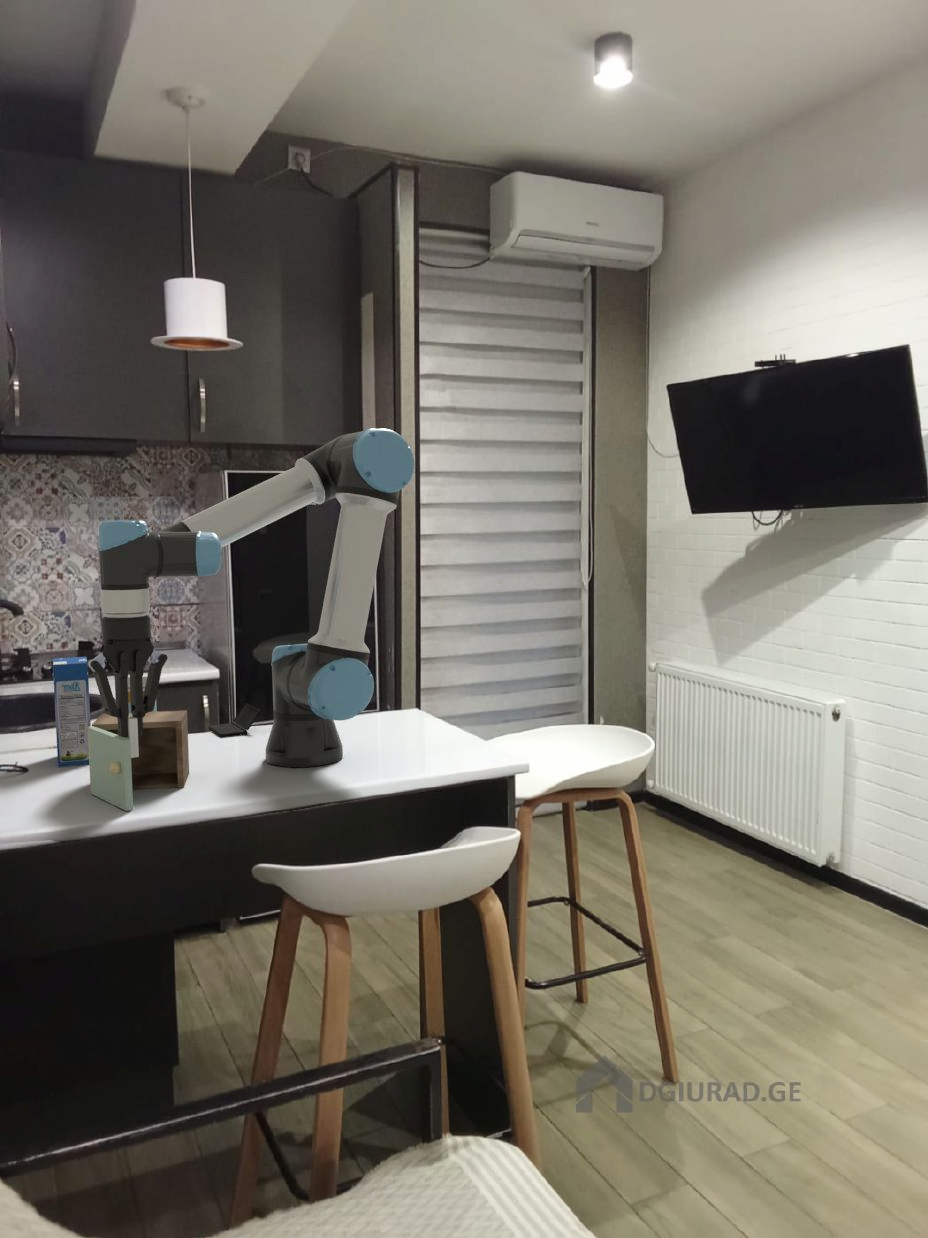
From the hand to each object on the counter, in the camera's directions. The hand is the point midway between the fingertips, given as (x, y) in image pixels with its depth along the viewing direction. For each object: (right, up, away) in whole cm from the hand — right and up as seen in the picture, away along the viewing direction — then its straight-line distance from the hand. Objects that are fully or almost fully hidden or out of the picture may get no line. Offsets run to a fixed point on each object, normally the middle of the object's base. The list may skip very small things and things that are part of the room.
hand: (131, 755), depth 159 cm
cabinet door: (-5, -8, +2) cm, 9 cm away
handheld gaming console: (+3, -3, +58) cm, 58 cm away
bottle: (-14, -4, +45) cm, 47 cm away
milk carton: (-22, -6, +32) cm, 39 cm away
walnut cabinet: (-3, -7, +14) cm, 16 cm away
